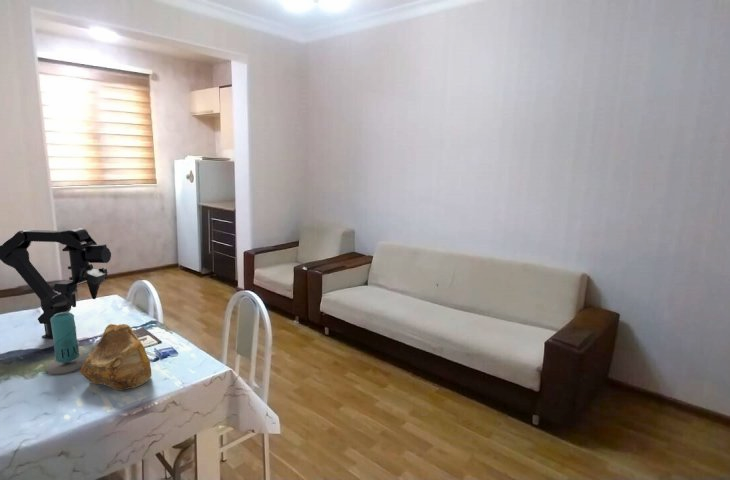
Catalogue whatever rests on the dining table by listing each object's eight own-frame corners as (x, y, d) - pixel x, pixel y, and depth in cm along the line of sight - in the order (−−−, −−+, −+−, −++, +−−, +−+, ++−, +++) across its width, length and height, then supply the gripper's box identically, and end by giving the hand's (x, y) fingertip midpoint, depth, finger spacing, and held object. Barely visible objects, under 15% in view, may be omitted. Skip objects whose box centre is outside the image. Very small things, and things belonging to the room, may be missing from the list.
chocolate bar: (143, 327, 166) (161, 341, 154) (143, 329, 166) (161, 343, 154) (118, 334, 160) (135, 349, 147) (118, 336, 160) (135, 351, 148)
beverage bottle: (60, 369, 131) (51, 309, 127) (52, 363, 135) (44, 304, 131) (83, 361, 136) (76, 303, 132) (75, 355, 140) (68, 299, 136)
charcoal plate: (36, 373, 131) (36, 369, 131) (68, 355, 143) (68, 352, 142) (70, 376, 129) (69, 373, 129) (100, 358, 141) (99, 355, 141)
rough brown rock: (76, 376, 131) (66, 333, 127) (134, 356, 142) (126, 315, 138) (95, 411, 115) (84, 363, 111) (158, 384, 126) (150, 340, 122)
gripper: (77, 270, 144) (83, 313, 147) (117, 257, 162) (121, 296, 165) (49, 268, 145) (55, 311, 148) (92, 256, 163) (96, 294, 166)
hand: (84, 302), depth 157 cm, fingers open, 9 cm apart
